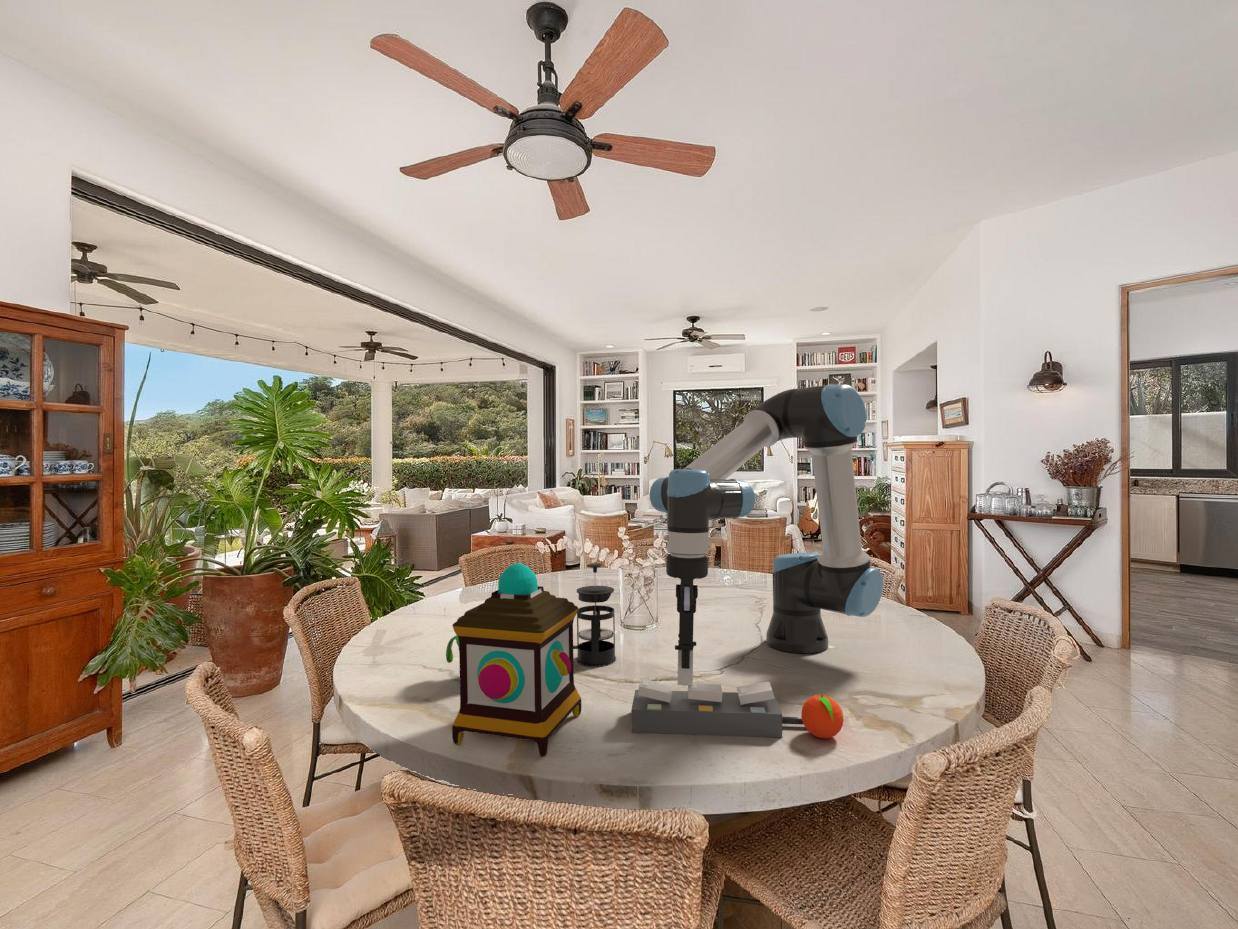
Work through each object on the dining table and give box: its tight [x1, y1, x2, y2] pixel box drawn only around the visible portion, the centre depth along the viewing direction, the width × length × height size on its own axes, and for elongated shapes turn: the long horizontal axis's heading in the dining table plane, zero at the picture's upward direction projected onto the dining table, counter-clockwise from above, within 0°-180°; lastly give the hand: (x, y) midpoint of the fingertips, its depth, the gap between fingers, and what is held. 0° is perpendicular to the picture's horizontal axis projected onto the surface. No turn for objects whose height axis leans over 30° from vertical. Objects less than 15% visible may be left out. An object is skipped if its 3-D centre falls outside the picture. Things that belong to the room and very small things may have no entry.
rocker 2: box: [687, 681, 723, 702], centre depth 110 cm, size 6×4×2 cm, turn 84°
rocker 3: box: [736, 681, 775, 705], centre depth 109 cm, size 6×4×2 cm, turn 84°
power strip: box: [630, 689, 804, 738], centre depth 109 cm, size 32×9×4 cm, turn 84°
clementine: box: [800, 694, 844, 739], centre depth 104 cm, size 8×7×7 cm
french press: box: [573, 562, 617, 668], centre depth 144 cm, size 12×9×23 cm
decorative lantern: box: [451, 562, 582, 758], centre depth 108 cm, size 20×20×30 cm
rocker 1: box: [637, 677, 673, 703], centre depth 110 cm, size 6×4×2 cm, turn 84°
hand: (685, 683), depth 110 cm, fingers closed
